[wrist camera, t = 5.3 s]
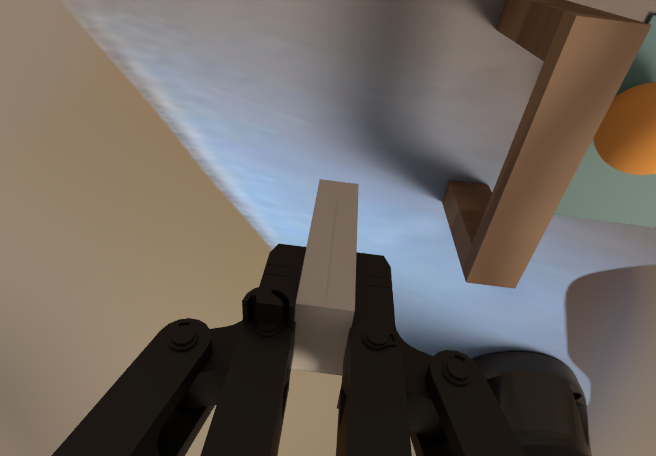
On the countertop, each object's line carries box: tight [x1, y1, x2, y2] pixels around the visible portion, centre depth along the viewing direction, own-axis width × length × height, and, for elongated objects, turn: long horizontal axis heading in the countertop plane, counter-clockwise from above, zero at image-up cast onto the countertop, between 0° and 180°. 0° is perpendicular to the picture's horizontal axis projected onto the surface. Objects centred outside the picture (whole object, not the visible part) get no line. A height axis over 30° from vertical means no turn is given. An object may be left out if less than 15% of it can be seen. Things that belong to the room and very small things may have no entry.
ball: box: [593, 82, 656, 175], centre depth 24 cm, size 6×6×6 cm
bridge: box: [442, 0, 652, 288], centre depth 24 cm, size 3×14×9 cm, turn 174°
